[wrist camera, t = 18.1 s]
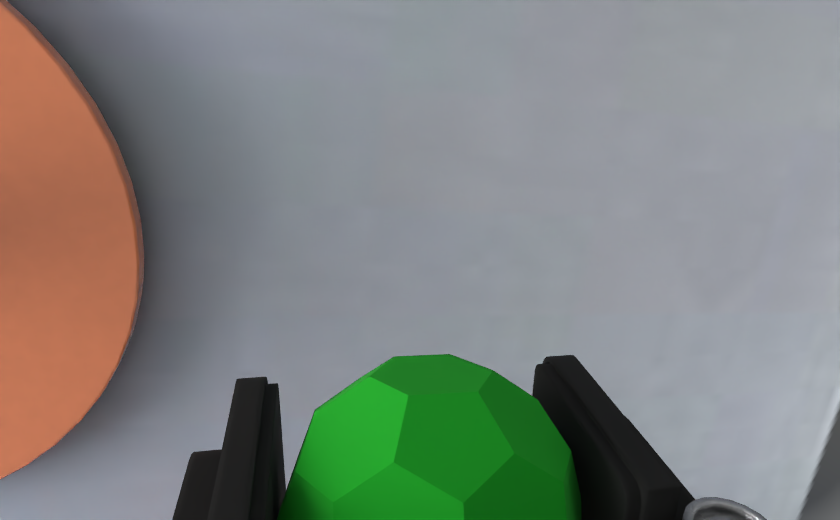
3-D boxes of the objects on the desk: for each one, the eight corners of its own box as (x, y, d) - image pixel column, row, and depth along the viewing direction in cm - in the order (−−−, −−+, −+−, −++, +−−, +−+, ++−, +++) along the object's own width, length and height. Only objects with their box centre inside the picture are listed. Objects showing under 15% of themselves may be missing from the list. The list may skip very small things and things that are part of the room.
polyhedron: (542, 473, 13) (656, 689, 9) (330, 547, 13) (342, 806, 9) (495, 277, 11) (611, 428, 7) (246, 358, 11) (206, 568, 7)
